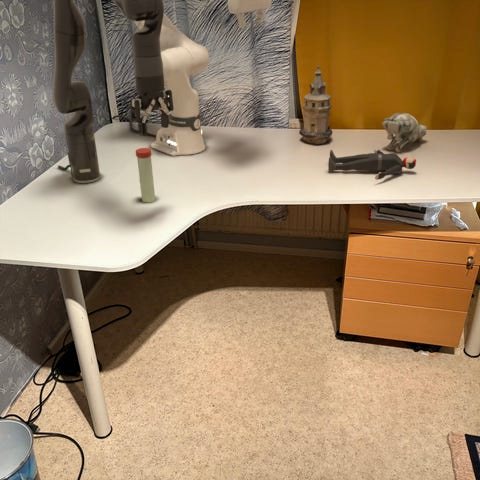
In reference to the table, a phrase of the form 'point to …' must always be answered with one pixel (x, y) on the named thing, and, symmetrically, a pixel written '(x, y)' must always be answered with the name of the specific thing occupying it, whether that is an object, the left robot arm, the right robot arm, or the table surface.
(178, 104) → the right robot arm
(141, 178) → the olive green cylinder
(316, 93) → the miniature building
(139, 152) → the lid
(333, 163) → the toy
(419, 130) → the figurine
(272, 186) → the table surface
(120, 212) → the table surface
